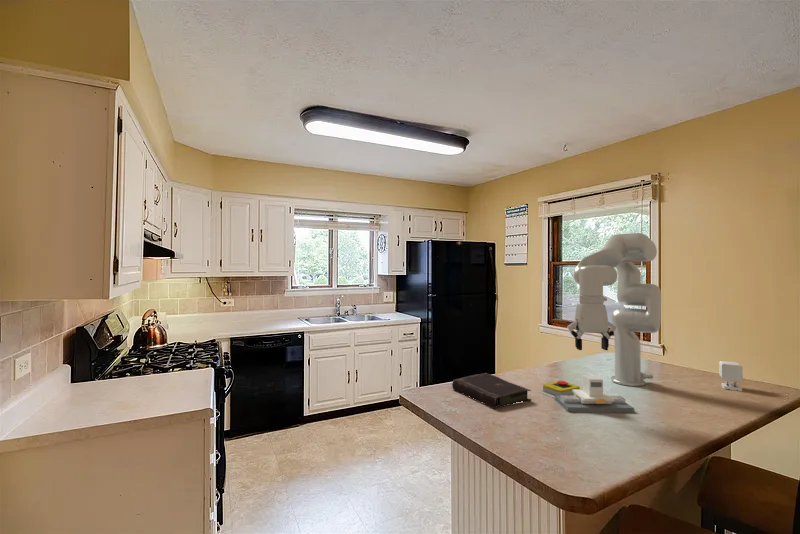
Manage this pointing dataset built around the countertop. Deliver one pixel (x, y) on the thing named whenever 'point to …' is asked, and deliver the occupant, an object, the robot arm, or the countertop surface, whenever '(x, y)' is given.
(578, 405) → the rail mount
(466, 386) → the diary
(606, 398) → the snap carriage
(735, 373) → the security camera
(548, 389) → the emergency button
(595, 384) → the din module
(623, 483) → the countertop surface
